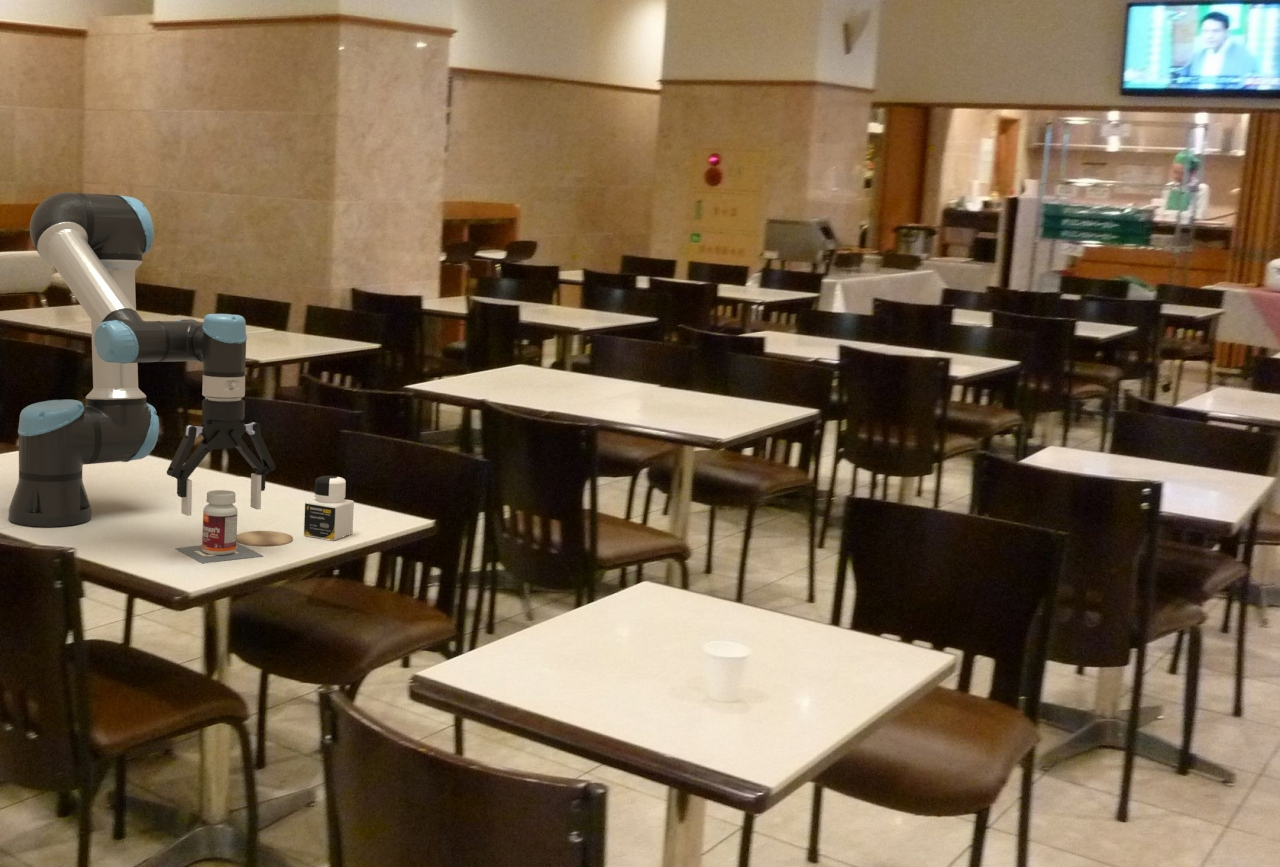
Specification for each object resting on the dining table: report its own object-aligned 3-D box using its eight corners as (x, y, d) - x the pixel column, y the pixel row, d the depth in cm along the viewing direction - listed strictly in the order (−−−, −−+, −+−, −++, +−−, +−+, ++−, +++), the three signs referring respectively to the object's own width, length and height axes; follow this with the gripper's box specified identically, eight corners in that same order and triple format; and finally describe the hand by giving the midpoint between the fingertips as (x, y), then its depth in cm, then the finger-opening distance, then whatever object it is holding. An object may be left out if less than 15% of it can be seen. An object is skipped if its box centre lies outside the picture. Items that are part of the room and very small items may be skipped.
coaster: (250, 548, 263) (250, 546, 263) (225, 536, 271) (225, 534, 271) (302, 542, 270) (302, 540, 270) (276, 530, 278) (276, 528, 278)
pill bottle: (194, 552, 256) (196, 492, 254) (216, 546, 262) (218, 487, 260) (222, 557, 254) (223, 497, 252) (243, 551, 260) (245, 492, 258)
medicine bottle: (303, 536, 275) (305, 477, 273) (322, 529, 282) (325, 472, 280) (333, 541, 273) (336, 482, 271) (353, 534, 280) (355, 476, 278)
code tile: (202, 564, 250) (202, 562, 249) (174, 549, 258) (175, 547, 258) (263, 557, 257) (263, 555, 257) (235, 543, 266) (235, 541, 266)
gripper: (165, 403, 242) (164, 520, 245) (295, 398, 259) (292, 509, 262) (148, 397, 248) (147, 513, 251) (276, 393, 265) (274, 502, 267)
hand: (221, 511), depth 256 cm, fingers open, 13 cm apart
